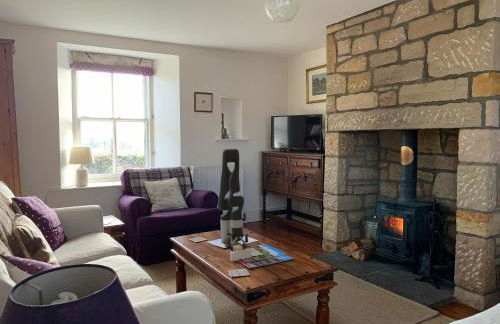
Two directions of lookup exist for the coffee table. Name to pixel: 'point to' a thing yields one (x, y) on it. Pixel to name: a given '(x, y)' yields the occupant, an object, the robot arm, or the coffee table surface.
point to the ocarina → (230, 241)
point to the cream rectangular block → (240, 254)
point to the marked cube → (237, 248)
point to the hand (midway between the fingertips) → (238, 250)
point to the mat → (254, 252)
